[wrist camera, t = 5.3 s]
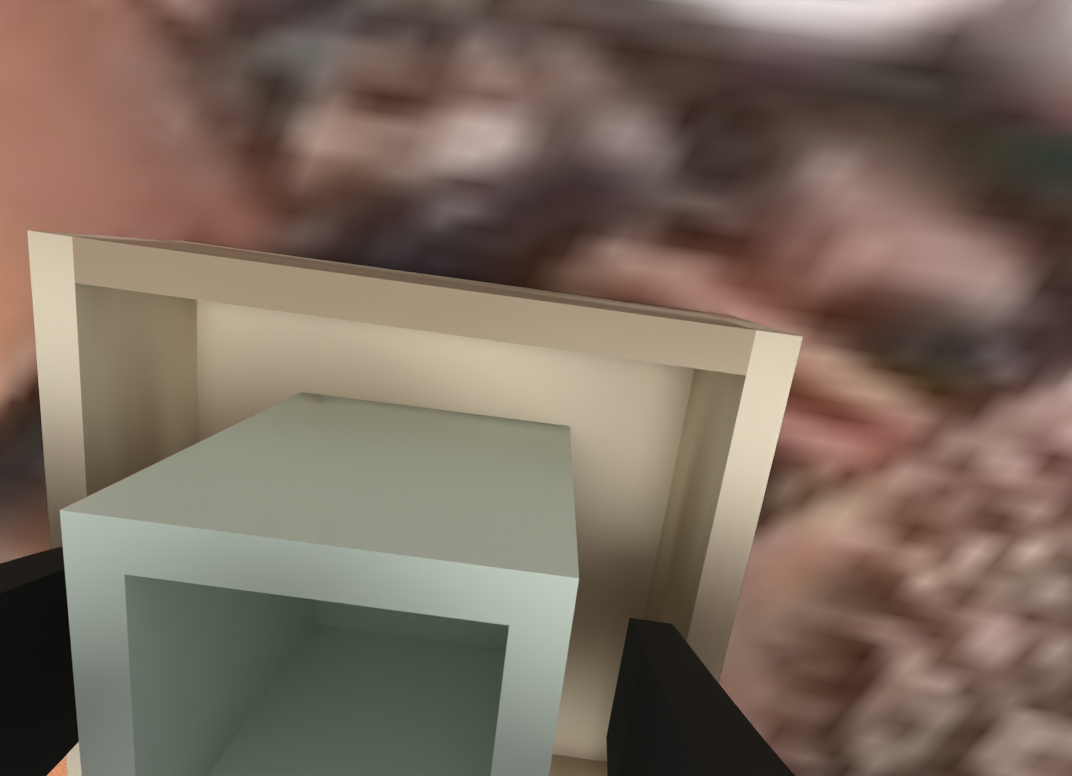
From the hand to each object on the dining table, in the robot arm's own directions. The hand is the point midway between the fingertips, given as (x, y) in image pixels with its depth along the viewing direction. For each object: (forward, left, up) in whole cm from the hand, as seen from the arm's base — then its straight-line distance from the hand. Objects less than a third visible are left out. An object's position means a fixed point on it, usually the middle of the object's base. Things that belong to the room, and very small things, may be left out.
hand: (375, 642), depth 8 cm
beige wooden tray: (0, 0, -3) cm, 3 cm away
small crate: (0, 0, -3) cm, 3 cm away
